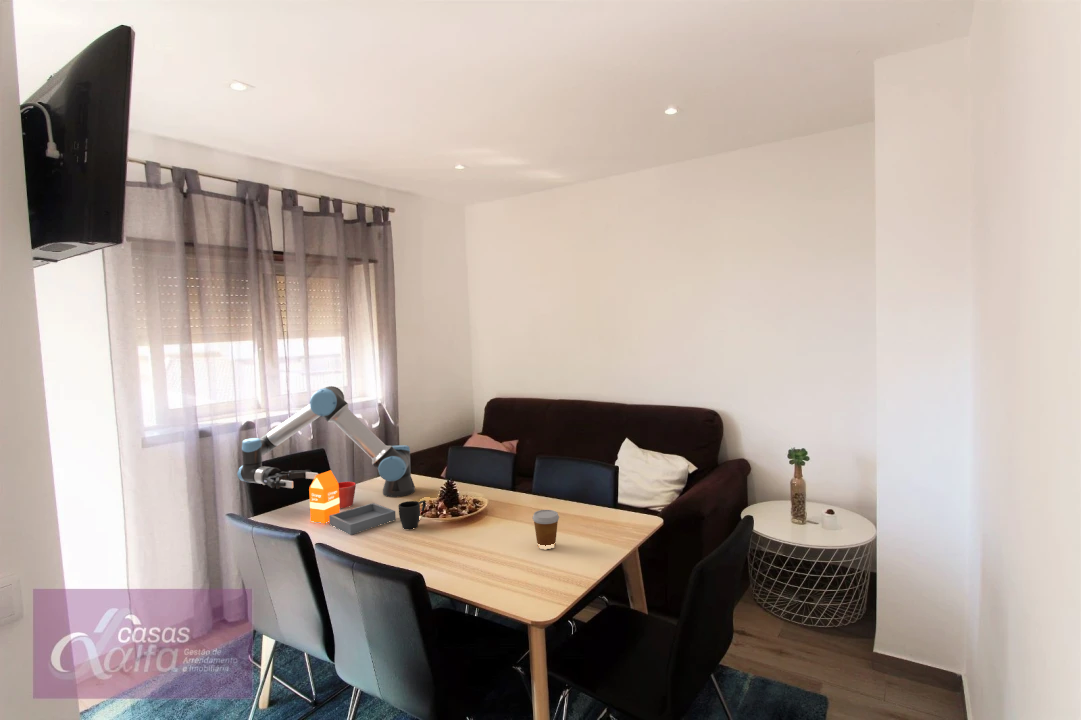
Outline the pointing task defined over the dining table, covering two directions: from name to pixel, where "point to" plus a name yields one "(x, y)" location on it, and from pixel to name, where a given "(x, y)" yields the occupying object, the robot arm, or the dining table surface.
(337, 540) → the dining table surface
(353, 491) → the flower pot
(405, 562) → the dining table surface
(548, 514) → the disposable coffee cup
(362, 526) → the tray
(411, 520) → the mug
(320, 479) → the orange juice
